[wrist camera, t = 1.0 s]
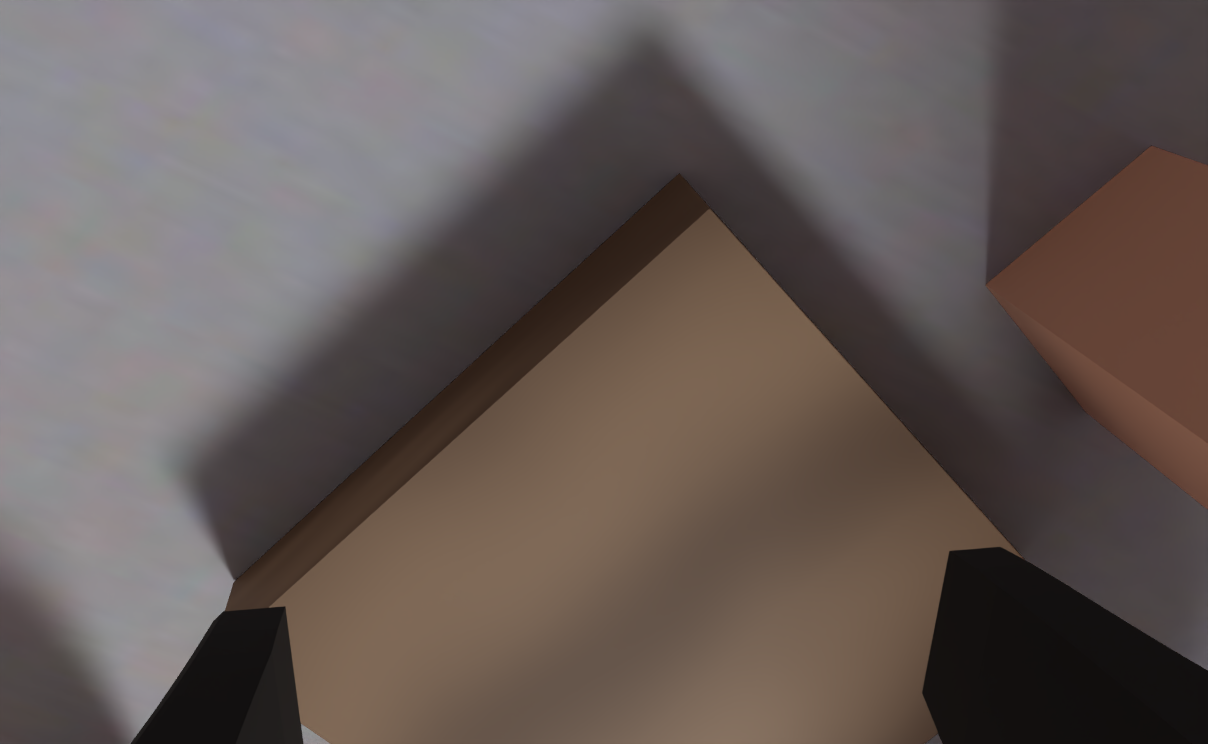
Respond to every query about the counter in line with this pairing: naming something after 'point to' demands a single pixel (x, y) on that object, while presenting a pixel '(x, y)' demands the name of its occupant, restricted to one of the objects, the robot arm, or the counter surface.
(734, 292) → the walnut base
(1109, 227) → the terracotta block
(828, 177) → the counter surface
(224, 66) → the counter surface
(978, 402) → the counter surface
